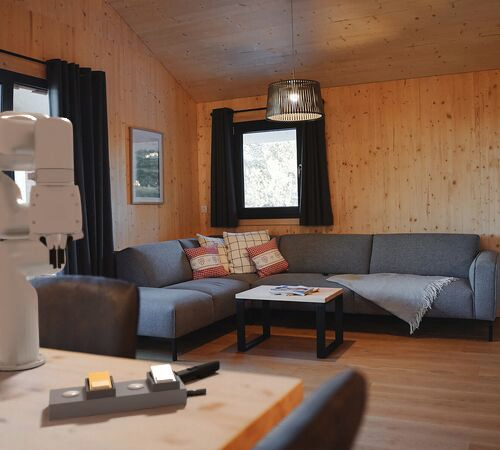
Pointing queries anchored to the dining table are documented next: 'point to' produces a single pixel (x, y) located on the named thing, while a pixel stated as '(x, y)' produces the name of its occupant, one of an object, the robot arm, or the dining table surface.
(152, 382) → the power strip
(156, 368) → the white rocker switch
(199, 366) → the electric trimmer
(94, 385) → the amber rocker
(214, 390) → the dining table surface
